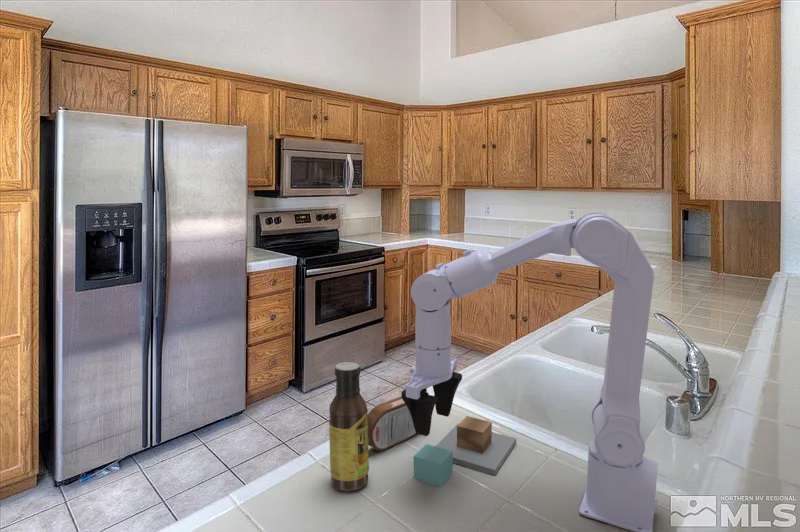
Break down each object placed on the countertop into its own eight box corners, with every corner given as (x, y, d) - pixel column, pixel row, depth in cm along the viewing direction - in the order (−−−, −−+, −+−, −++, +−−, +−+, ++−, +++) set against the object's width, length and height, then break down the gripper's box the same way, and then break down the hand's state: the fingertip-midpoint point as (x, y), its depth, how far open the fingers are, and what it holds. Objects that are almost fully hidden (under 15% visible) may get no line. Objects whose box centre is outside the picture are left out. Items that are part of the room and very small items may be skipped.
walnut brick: (491, 442, 88) (491, 422, 88) (482, 453, 84) (482, 432, 84) (466, 435, 91) (466, 415, 90) (456, 446, 87) (456, 425, 86)
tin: (419, 425, 97) (419, 386, 96) (430, 431, 95) (430, 391, 93) (360, 452, 87) (359, 409, 86) (371, 459, 85) (370, 415, 84)
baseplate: (516, 443, 90) (516, 438, 90) (494, 475, 80) (494, 469, 79) (457, 428, 96) (457, 423, 96) (430, 456, 86) (430, 451, 85)
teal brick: (452, 473, 80) (452, 451, 80) (440, 487, 77) (440, 464, 76) (426, 465, 83) (426, 443, 82) (413, 478, 79) (413, 456, 79)
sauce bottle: (366, 494, 75) (363, 374, 72) (327, 493, 75) (322, 373, 72) (371, 471, 81) (369, 359, 78) (335, 470, 82) (331, 359, 79)
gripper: (431, 330, 85) (431, 402, 87) (388, 353, 72) (389, 437, 74) (468, 335, 81) (467, 410, 83) (429, 361, 69) (429, 448, 71)
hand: (433, 424), depth 78 cm, fingers open, 7 cm apart
